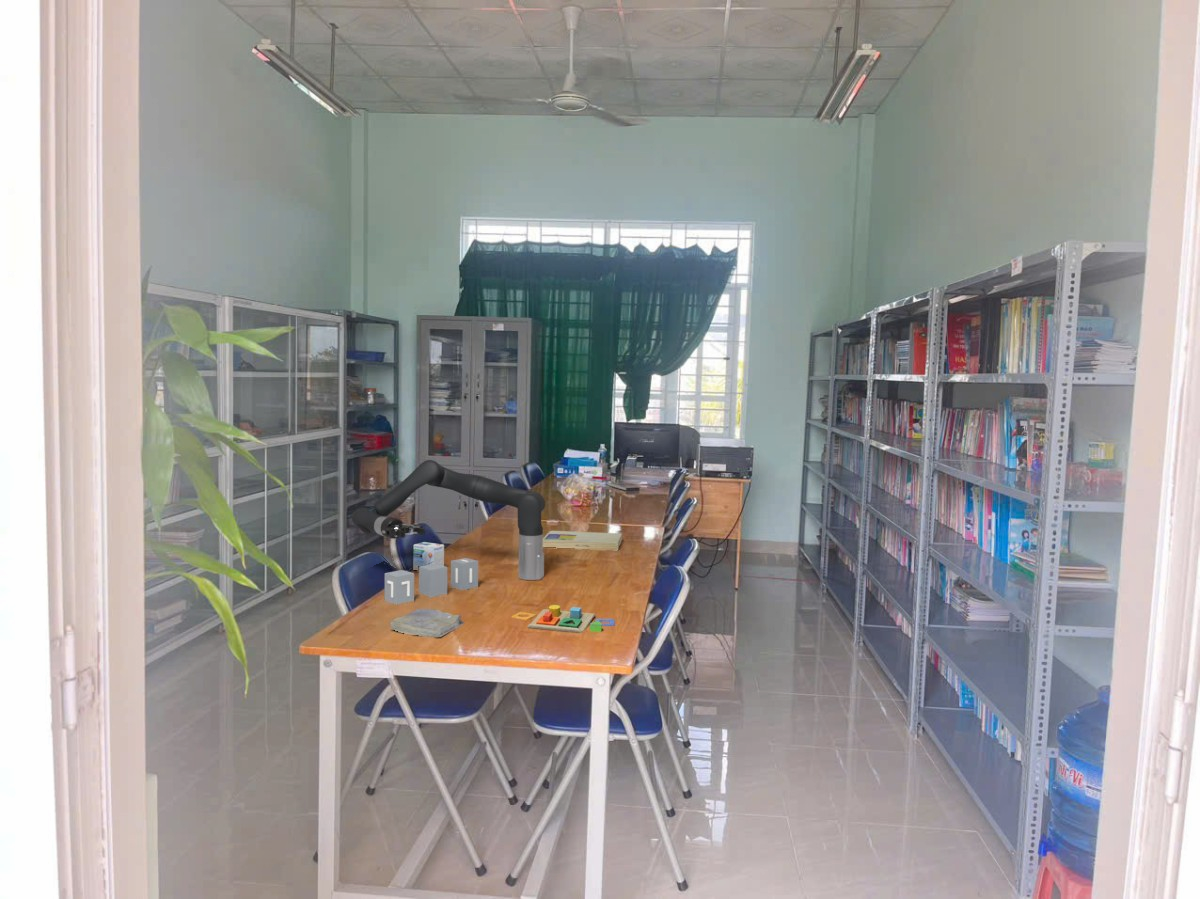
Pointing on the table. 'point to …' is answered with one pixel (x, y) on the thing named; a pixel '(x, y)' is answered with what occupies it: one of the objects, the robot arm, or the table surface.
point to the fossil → (427, 623)
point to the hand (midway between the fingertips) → (414, 533)
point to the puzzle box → (583, 540)
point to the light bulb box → (427, 554)
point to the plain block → (433, 580)
